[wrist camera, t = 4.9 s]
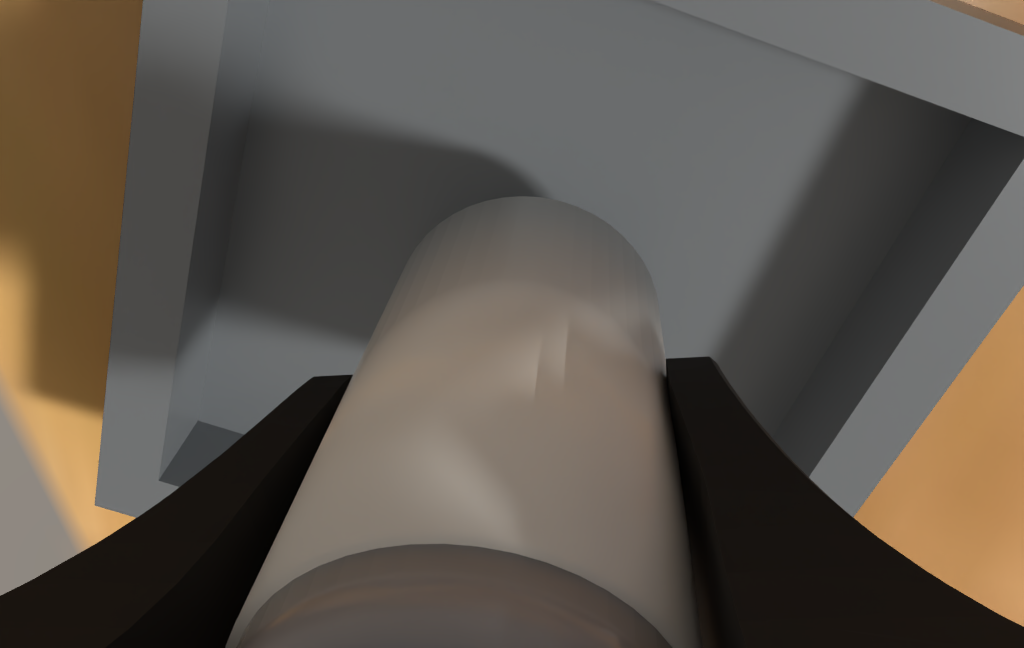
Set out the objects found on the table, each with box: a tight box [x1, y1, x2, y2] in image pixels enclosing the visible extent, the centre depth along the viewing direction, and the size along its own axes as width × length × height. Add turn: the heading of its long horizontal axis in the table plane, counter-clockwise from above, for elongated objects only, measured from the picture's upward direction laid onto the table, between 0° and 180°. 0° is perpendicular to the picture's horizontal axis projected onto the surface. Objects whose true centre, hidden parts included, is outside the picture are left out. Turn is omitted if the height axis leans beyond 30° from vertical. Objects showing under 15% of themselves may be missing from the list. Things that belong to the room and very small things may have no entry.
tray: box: [95, 0, 1024, 518], centre depth 16 cm, size 14×14×3 cm
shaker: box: [225, 196, 703, 648], centre depth 11 cm, size 5×5×9 cm
